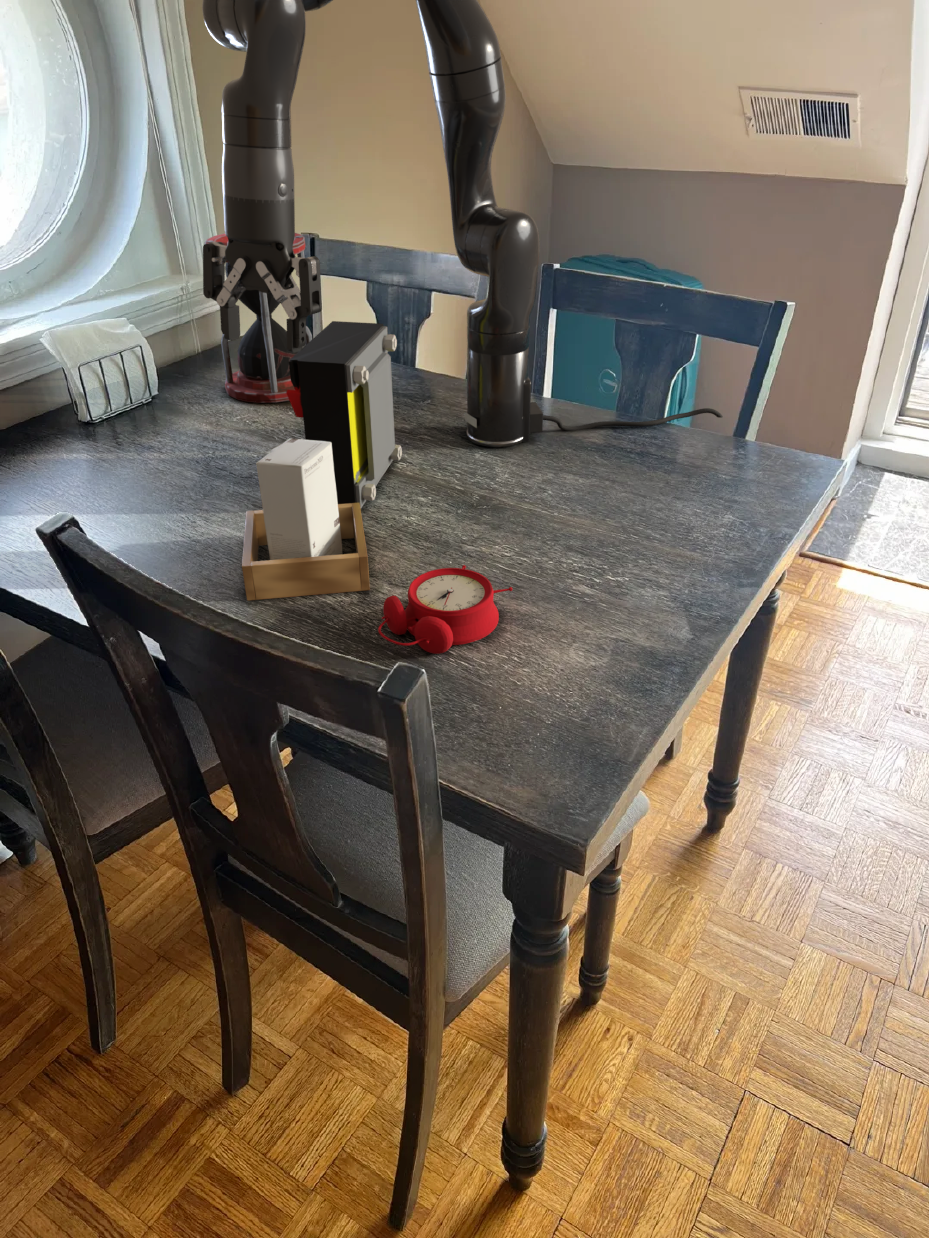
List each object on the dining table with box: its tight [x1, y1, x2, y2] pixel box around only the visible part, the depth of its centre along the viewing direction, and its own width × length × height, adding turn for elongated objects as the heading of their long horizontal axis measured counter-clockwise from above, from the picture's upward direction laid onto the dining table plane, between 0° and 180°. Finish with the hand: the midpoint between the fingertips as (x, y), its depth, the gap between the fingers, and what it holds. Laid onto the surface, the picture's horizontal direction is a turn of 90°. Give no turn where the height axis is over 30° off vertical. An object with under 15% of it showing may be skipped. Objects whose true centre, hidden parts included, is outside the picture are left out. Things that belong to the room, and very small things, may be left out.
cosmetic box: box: [255, 437, 344, 560], centre depth 110 cm, size 8×6×15 cm
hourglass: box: [203, 232, 313, 404], centre depth 160 cm, size 16×16×25 cm
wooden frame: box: [241, 503, 371, 602], centre depth 113 cm, size 14×14×4 cm
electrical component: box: [286, 320, 403, 509], centre depth 128 cm, size 18×10×20 cm, turn 168°
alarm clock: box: [377, 564, 513, 655], centre depth 101 cm, size 10×6×15 cm
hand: (263, 345), depth 109 cm, fingers open, 8 cm apart
